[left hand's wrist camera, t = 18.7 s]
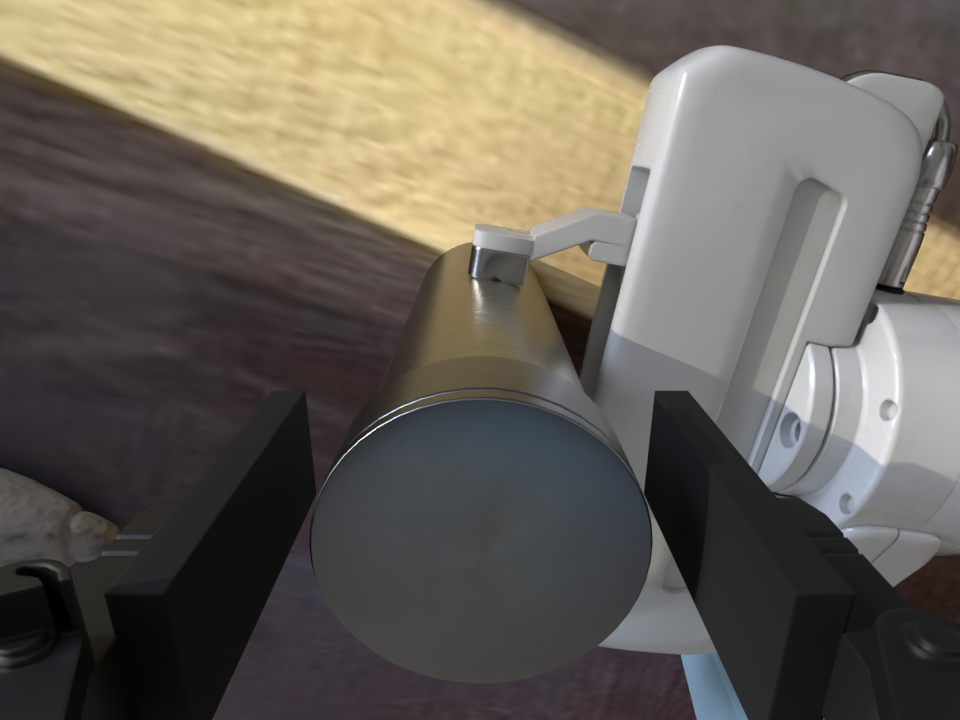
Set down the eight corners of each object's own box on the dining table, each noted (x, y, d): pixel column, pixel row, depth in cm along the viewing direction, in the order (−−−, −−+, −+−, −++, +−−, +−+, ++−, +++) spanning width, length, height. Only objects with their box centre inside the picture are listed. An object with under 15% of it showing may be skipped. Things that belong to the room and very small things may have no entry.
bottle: (400, 266, 26) (282, 453, 10) (518, 222, 25) (578, 352, 10) (445, 376, 27) (402, 674, 12) (558, 337, 27) (661, 601, 12)
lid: (686, 453, 12) (725, 513, 10) (518, 646, 14) (524, 728, 12) (433, 295, 11) (423, 328, 9) (285, 526, 13) (250, 594, 11)
